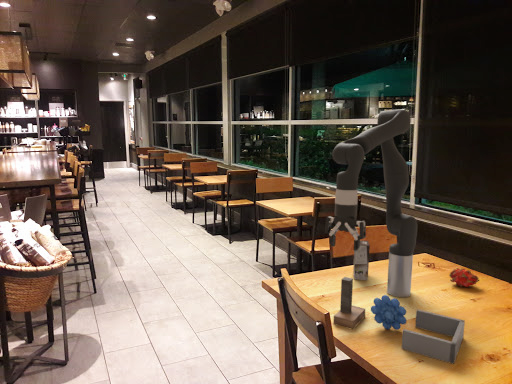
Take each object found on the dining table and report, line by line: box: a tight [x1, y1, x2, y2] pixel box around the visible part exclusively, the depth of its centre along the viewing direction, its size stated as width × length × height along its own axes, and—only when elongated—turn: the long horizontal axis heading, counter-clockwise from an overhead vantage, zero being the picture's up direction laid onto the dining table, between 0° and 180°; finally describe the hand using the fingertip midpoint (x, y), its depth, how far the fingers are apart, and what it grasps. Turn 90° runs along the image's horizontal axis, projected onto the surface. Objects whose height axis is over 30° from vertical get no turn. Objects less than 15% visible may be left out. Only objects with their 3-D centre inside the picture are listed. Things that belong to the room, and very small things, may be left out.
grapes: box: [370, 294, 408, 331], centre depth 136 cm, size 12×7×12 cm, turn 74°
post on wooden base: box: [332, 276, 366, 330], centre depth 144 cm, size 12×7×15 cm, turn 146°
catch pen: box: [401, 308, 466, 365], centre depth 129 cm, size 18×15×6 cm
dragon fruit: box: [449, 267, 480, 289], centre depth 177 cm, size 8×8×12 cm
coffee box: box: [352, 240, 371, 281], centre depth 187 cm, size 9×6×16 cm
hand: (344, 248), depth 142 cm, fingers open, 8 cm apart
